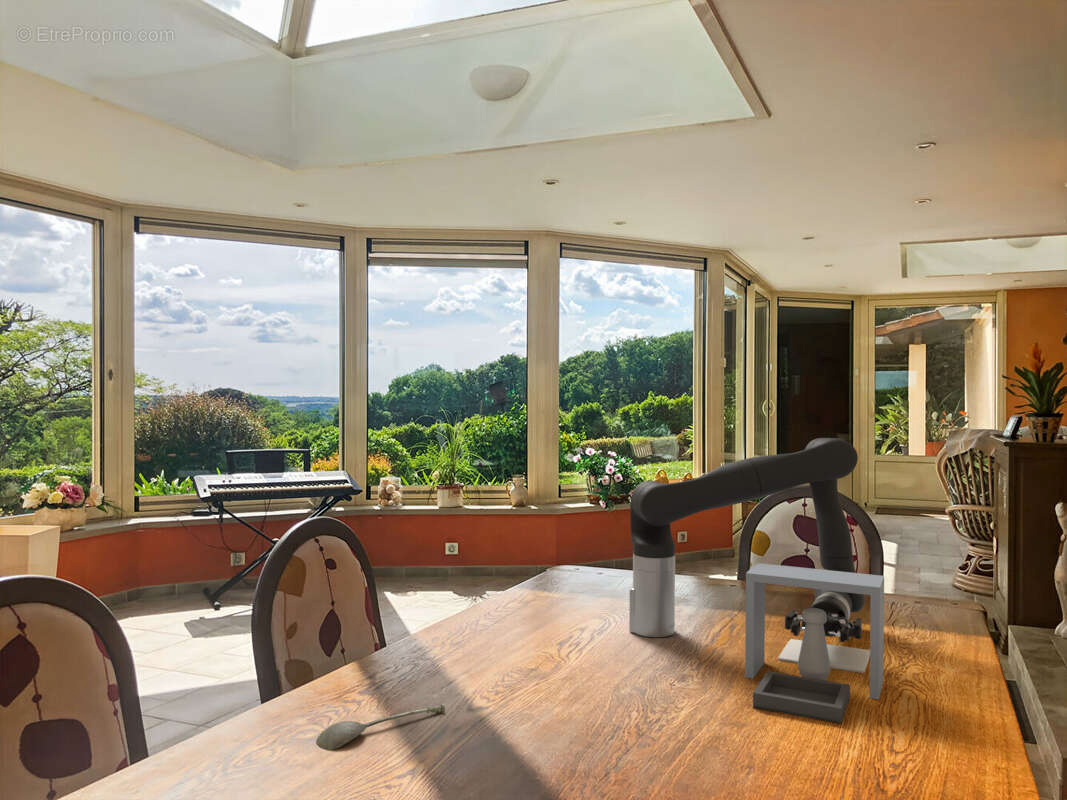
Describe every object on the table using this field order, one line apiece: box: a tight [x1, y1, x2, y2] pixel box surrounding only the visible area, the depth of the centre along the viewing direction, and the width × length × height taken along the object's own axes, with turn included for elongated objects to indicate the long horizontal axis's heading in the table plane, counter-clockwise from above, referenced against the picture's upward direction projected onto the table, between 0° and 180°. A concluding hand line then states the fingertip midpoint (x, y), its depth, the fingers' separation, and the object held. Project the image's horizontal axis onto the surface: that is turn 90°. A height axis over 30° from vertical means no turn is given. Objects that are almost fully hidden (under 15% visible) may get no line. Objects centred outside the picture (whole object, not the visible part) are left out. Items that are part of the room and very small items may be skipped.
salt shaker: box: [797, 607, 832, 681], centre depth 149 cm, size 6×6×13 cm
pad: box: [777, 638, 870, 674], centre depth 162 cm, size 16×14×1 cm
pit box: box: [752, 671, 851, 725], centre depth 138 cm, size 14×12×2 cm
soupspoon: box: [315, 703, 446, 751], centre depth 127 cm, size 22×3×7 cm
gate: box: [744, 562, 885, 700], centre depth 149 cm, size 23×10×20 cm, turn 62°
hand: (818, 633), depth 154 cm, fingers open, 8 cm apart
